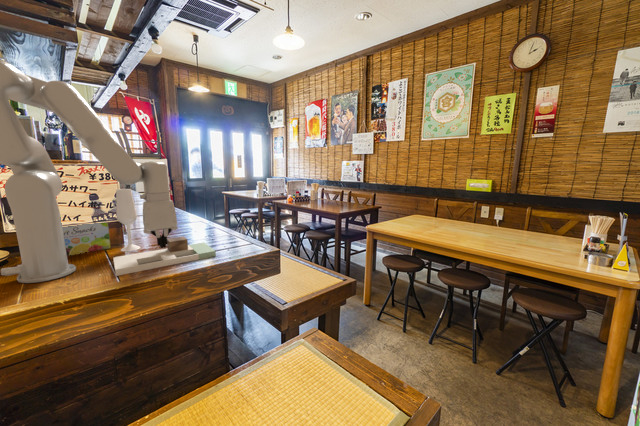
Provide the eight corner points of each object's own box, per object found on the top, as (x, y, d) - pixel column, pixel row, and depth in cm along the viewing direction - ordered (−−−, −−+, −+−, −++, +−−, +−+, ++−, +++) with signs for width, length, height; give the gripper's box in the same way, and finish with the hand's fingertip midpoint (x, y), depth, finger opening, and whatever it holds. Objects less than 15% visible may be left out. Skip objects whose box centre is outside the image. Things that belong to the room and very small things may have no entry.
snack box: (36, 262, 91) (28, 220, 89) (33, 259, 95) (25, 217, 92) (111, 248, 108) (106, 211, 105) (107, 245, 111) (102, 210, 109)
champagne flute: (120, 252, 103) (112, 190, 99) (121, 247, 108) (113, 189, 104) (140, 249, 107) (134, 189, 102) (140, 245, 112) (134, 188, 108)
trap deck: (115, 275, 81) (115, 269, 81) (113, 262, 92) (113, 257, 92) (215, 255, 100) (215, 250, 100) (204, 247, 111) (204, 242, 110)
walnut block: (170, 252, 97) (169, 241, 97) (167, 249, 101) (166, 238, 100) (188, 249, 101) (187, 239, 100) (184, 246, 105) (184, 236, 104)
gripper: (133, 200, 87) (139, 253, 90) (183, 196, 96) (187, 245, 99) (131, 197, 93) (137, 248, 96) (178, 195, 102) (182, 241, 105)
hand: (162, 246), depth 98 cm, fingers closed
